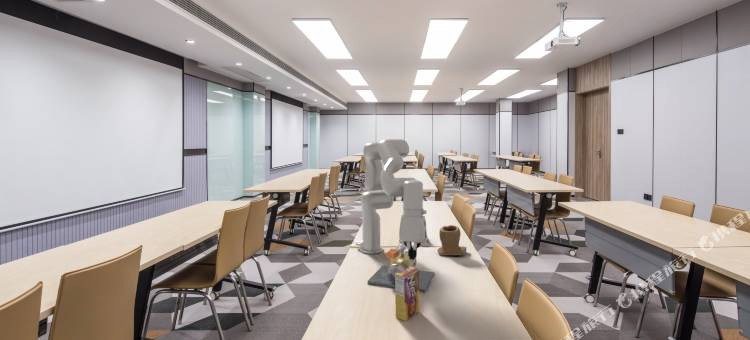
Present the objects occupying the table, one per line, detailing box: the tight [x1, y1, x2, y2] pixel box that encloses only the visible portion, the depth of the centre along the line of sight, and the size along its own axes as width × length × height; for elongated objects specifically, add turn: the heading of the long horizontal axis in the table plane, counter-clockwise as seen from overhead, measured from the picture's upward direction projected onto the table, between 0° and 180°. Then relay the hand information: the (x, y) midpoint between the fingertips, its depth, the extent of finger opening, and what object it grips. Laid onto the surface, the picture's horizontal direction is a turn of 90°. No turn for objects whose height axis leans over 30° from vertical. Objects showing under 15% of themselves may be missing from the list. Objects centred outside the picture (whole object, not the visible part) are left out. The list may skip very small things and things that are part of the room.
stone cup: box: [436, 224, 467, 256], centre depth 179 cm, size 15×12×15 cm
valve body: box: [367, 250, 436, 294], centre depth 148 cm, size 24×19×13 cm
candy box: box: [394, 266, 420, 322], centre depth 119 cm, size 9×4×15 cm, turn 140°
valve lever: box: [386, 243, 407, 259], centre depth 143 cm, size 14×3×2 cm, turn 154°
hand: (412, 258), depth 137 cm, fingers closed
